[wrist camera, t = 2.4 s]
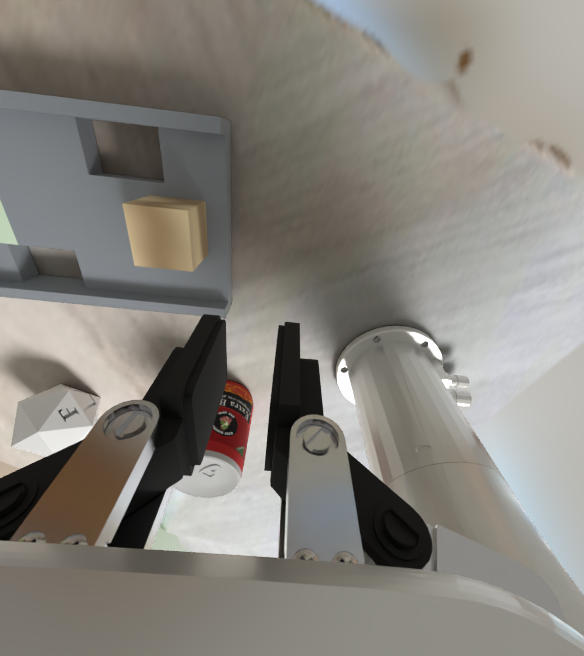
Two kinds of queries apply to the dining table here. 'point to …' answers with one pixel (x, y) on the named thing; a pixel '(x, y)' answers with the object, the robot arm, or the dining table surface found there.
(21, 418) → the die
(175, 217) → the block
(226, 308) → the box
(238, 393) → the canned food
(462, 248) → the dining table surface
